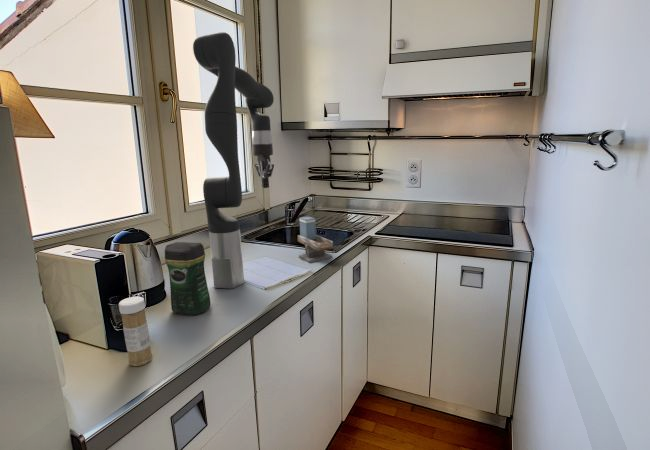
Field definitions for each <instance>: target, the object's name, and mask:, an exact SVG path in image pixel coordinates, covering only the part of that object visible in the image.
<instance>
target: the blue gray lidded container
mask: <svg viewBox="0 0 650 450" xmlns="http://www.w3.org/2000/svg"><path fill="white" fill-rule="evenodd" d="M298 221H299V235H300V236H303V237H305V238H308V239H310V240H314V239H316V235H317V231H316V218H314V217H311V216H302V217H299V220H298Z"/></svg>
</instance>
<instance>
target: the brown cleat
mask: <svg viewBox="0 0 650 450" xmlns="http://www.w3.org/2000/svg"><path fill="white" fill-rule="evenodd" d="M297 242H298V243H300V244H303V245H304V249H305V251H304V252H305V253H303V254H299V255H298V256H297V257H298V258H299V259H301V260H302V261H305V262H307V263H311V264H312V263H314V262H318V261H323V260H328V259H332V258H333V255H332V254H329V253H327V252H325V251H326V250H331V249H333V248H334V241H333V240H330V239H328V238H325V237H322V236H320V235H319V234H318V235H317V234H316V239H314V240H310V239H308V238H305V237H303V236H300V234H297Z"/></svg>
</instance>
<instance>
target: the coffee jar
mask: <svg viewBox="0 0 650 450" xmlns="http://www.w3.org/2000/svg"><path fill="white" fill-rule="evenodd" d="M205 259H206V253H205V249H204V244H202V242H192V241H191V242H187V241H175V242H174V241H173V242H172V243H168V244H167V245H165V247H164V261H165V263H166V266H167V269H168V276H169V277H168V278H169V285H170V287H169V288H170V305H171V311H172V312H173V313H175V314H179V315H184V316H186V315H187V316H188V315H189V316H194V315H195V316H196V315H198V314H201V313H204V312H206V311H207V310H208V309H209V308H210V307H211V304H212V303H211V298H210V291H209V288H208V283H207V277H206V271H205Z"/></svg>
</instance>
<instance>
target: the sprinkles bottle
mask: <svg viewBox="0 0 650 450" xmlns="http://www.w3.org/2000/svg"><path fill="white" fill-rule="evenodd" d="M118 309H119V313H120V315H121V321H122V327H123V328H122V329H123V334H124V335H123V336H124V341H125V346H126V350H127V358H128V365H130V366H132V367H139V366H144V365H146V364H148V363H149V362H151V360H153V354H152V349H151V348H152V347H151V339H150V332H149V325H148V321H147V315H146V303H145V298H144V297H142V296H130V297H127V298H124V299H122V300H120V301H119V303H118Z"/></svg>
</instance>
